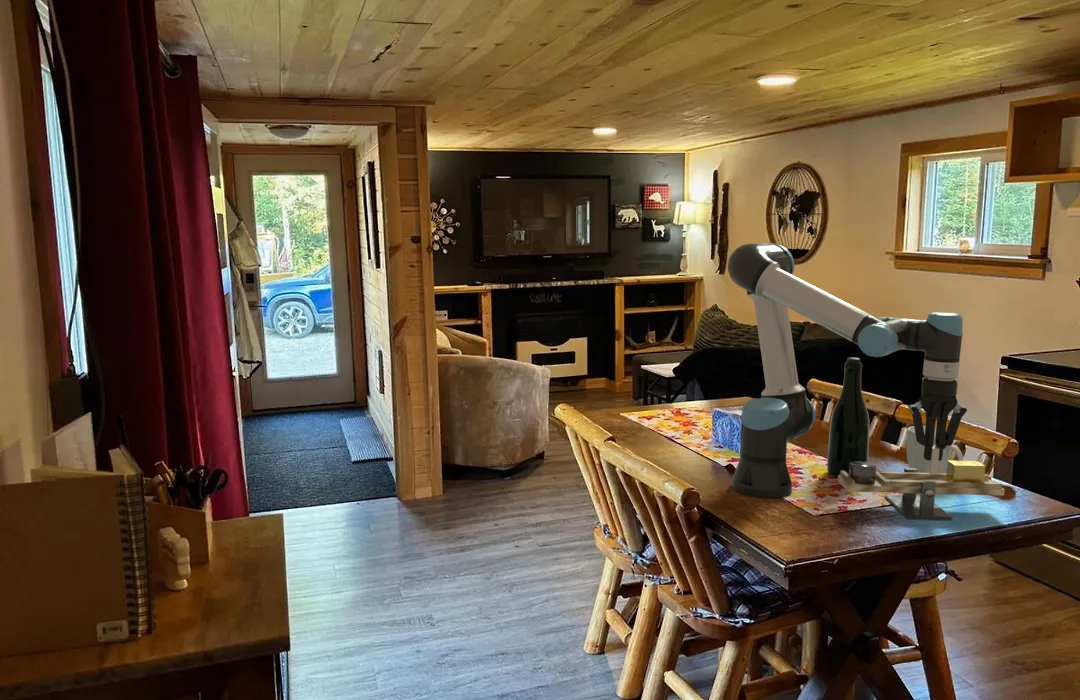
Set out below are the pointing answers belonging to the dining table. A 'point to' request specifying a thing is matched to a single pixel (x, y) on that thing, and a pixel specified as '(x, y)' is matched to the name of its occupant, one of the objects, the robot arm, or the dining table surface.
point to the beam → (912, 484)
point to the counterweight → (862, 472)
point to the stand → (919, 503)
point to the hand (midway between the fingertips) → (931, 472)
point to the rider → (965, 471)
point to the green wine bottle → (849, 423)
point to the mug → (917, 453)
